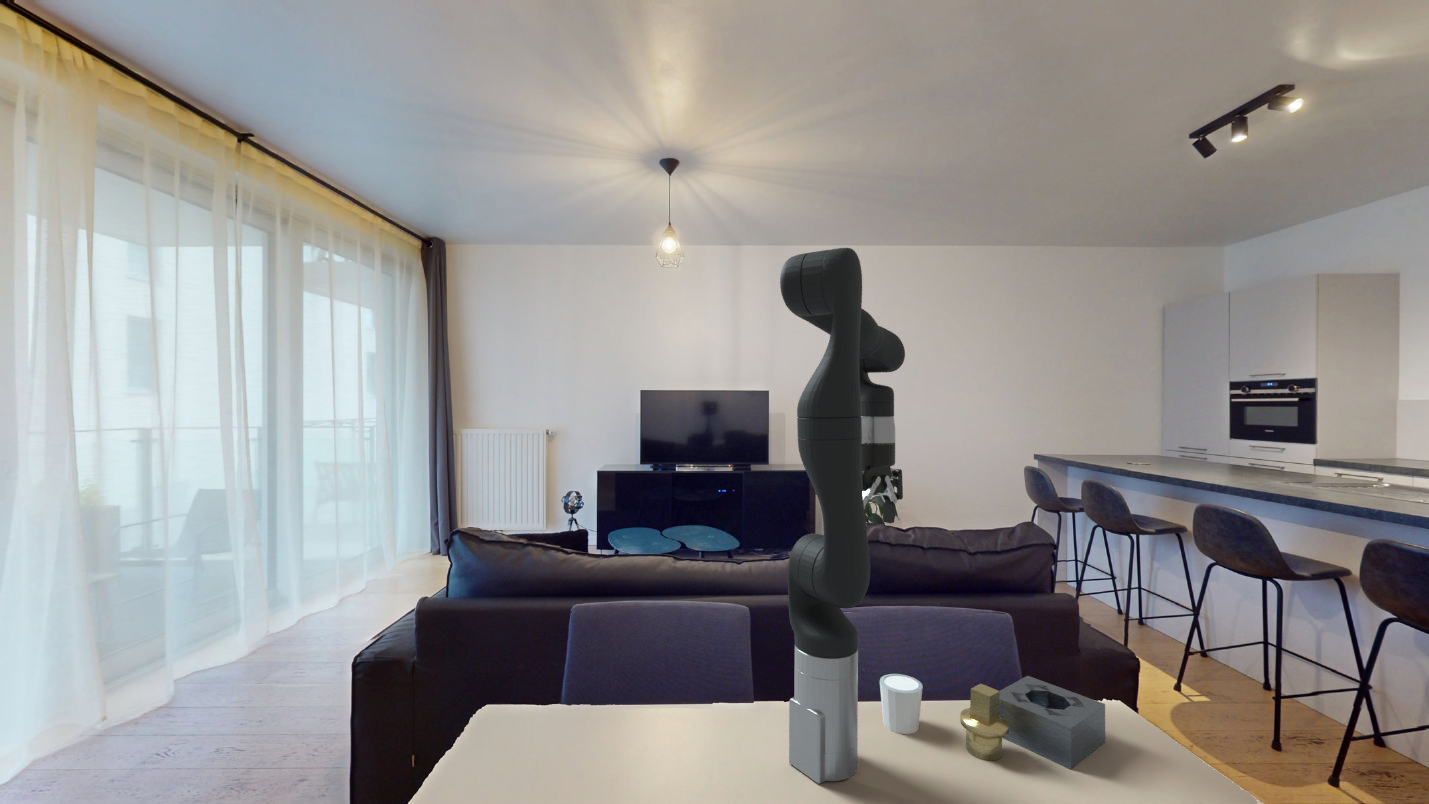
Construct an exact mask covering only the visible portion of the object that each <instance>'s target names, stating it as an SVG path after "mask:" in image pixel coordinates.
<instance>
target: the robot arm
mask: <svg viewBox="0 0 1429 804" xmlns="http://www.w3.org/2000/svg"><path fill="white" fill-rule="evenodd" d="M780 272H781V273H780V279H779V280H780V281H779V284H780V285H779V286H780V287H779V288H780V293H781V294H780V295H781V297H782V299H783V302H784V304H785V306H786V307H787V308H788V310H789V311H790V312H791V313H792V314H794V316H796V317H798V318H800V319H802V320H805V321H806V322H808V323H809V324H811V325H812V326H814V327H816V328H818V329H819V330H821V331H823V332H825V333H826V334H828V335H829V341H828V344H827V347H826V348H825V351H824V354H823V356H822V358H821V359H820V361H819V363H818V365H817V366H816V369H815V370H814V372H813V374H812V375H811V377H810V378H809V380H808V382H807V383H806V384H805V385H806V386H805V387H804V389H803V390H802V393H801V395H800V397H799V400H798V402H797V408H796V417H797V418H796V420H797V423H796V425H797V428H796V429H797V446H798V452H799V456H800V459H801V462H802V465H803V466H804V467H803V468H804V469H805V472H806V474H807V477H808V478H809V480H810V483H811V485H812V487H813V489H814V492H815V494H816V497H817V498H818V502H819V505H820V509H821V515H822V521H823V522H822V523H823V534H820V533H807V534H805V535H803V536H801V537H800V538H799V539H798V540H797V541H796V542H795V544H794V546H792V549H791V551H790V554H789V558H788V565H787V593H788V594H787V595H788V596H787V597H788V614H789V616H788V617H789V618H788V619H789V623H790V626H791V629H792V631H793V634H794V689H793V690H794V692H793V693H794V696H793V697H791V698H790V699H789V701H788V702H789V704H788V705H789V706H788V707H789V708H788V709H789V711H788V712H789V714H788V717H789V718H788V719H789V720H788V721H789V723H788V727H789V728H788V729H789V730H788V734H789V735H788V764H790V765H791V766H793V767H794V768H796V769H797V770H799V772H801V773H803V774H804V775H806V776H807V777H808V778H810V779H811V780H813V781H814V782H816V783H817V784H822V783H824V782H839V781H843V780H844V781H845V780H847V779H848V778H851V777H852V776H853V775H854V774H855V773H856V772H857V770H858V739H859V738H858V726H859V725H858V723H859V722H858V716H859V715H858V711H859V710H858V705H859V704H858V699H859V698H858V697H859V696H858V695H859V692H858V689H859V687H858V686H859V684H858V683H859V675H858V674H859V671H858V670H859V666H858V665H859V634H858V631H857V628H856V626H855V625H854V623H852V621H851V620H850V619H849V618H848V617H847V616H846V614H845V613H844V611H843V610H842V609H844V610H845V609H852V608H855V607H857V606H858V605H859V604H860V603H862V600H863V599H864V598H865V595H866V594H867V591H868V589H869V585H870V579H871V557H870V547H869V540H868V539H869V538H868V532H867V523H866V520H867V519H866V513H867V510H866V505H867V503H868V501H869V500H871V499H872V498H873V496H874V495H877V494H878V495H880V497H881V500H882V501H883V503H882V521H883V522H884V523H887V524H894V523H895V518H896V504H897V503H898V501H899V500H901V501H902V500H903V498H904V493H903V491H904V490H903V489H904V488H903V485H904V484H903V471H902V470H903V469H900V468H892V467H893V466H895V464H896V424H895V393H894V392H895V391H894V389H893V388H892V387H890V386H888V385H886V384H878V383H875V382H873V381H872V380H871V378H870V376H869V373H871V374H872V373H875V374H876V373H893V372H896V371H897V370H899V369H900V368H901V367H902V365H903V364H904V362H905V359H906V350H905V349H906V348H905V346H904V344H903V342H902V340H901V338H900V337H899V336H898V335H897V334H896V333H894V332H892V331H890V330H888V329H887V328H885V327H882V326H880V325H878V323H877V321H876V319H874V318H873V316H872V315H871V314H870V313H869V312H868V311H866V310H865V309H863V307H862V303H863V301H862V300H863V274H862V267H861V261H860V258H859V255H858V253H857V252H856V251H855V250H854V249H853V248H850V247H839V248H838V247H837V248H832V249H825V250H824V249H823V250H818V251H811V252H805V253H800V254H797V255H794V256H791V257H789V258H788V259H787V260H785V262H784V263H783V266H782V267H781V271H780ZM895 488H896V490H895ZM895 491H896V492H895Z"/></svg>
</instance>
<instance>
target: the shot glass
mask: <svg viewBox="0 0 1429 804" xmlns="http://www.w3.org/2000/svg"><path fill="white" fill-rule="evenodd" d="M879 688H880V690H879V691H880V701H881V702H880V703H881V711H882V714H881V715H882V723H883V725H884V727H885V728H886V729H888V730H889V731H891V732H894V733H896V734H901V735H912V734H915V733H917V732H918V731H919V726H920V718H921V717H920V716H921V705H922V697H923V696H922V695H923V683H922V682H921V681H920V680H919V679H917V678H915V677H913V676H909V675H907V674H902V673H901V674H900V673H889V674H885V675H882V676H881V677H880V679H879Z"/></svg>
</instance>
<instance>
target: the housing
mask: <svg viewBox="0 0 1429 804" xmlns="http://www.w3.org/2000/svg"><path fill="white" fill-rule="evenodd" d="M999 691H1000V702H999V715H1001V716H1002V717H1004V718H1005V719H1006V720H1007V721H1008V723H1009V734H1008V735H1007V736H1006V737H1003V738H1002V739H1005V740H1007V741H1009V742H1011V743H1014V744H1016V745H1018V746H1020V747H1022V748H1024V749H1026V750H1028V751H1031V752H1033V753H1035V754H1036V755H1039V756H1040V757H1043V758H1046V759H1047V760H1050V761H1052V762H1054V763H1056V764H1058V765H1060V766H1062V767H1064V768H1067V769H1069V770H1072V769H1073V768H1075V767H1076V766H1077V765H1079V764H1080V763H1081V762H1082V761H1084V760H1085V759H1086V758H1087V757H1088V756H1090V755H1091V754H1092V753H1093V752H1094V751H1096V750H1097V749H1098V748H1100V747H1101V746H1103V744H1105V743H1106V703H1103V702H1102V701H1098V700H1095V699H1093V698H1090V697H1088V696H1085V695H1082V694H1079V693H1077V692H1073V691H1071V690H1069V689H1065V688H1063V687H1061V686H1057V685H1055V684H1051V683H1049V682H1047V681H1044V680H1041V679H1038V678H1035V677H1033V676H1030V675H1026V676H1024V677H1023V678H1019V680H1017V681H1015V682H1013V683H1012V684H1009V685H1008V686H1006V687H1003V688H1002V689H1000V690H999Z"/></svg>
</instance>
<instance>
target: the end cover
mask: <svg viewBox="0 0 1429 804" xmlns="http://www.w3.org/2000/svg"><path fill="white" fill-rule="evenodd" d="M999 702H1000V690H998V689H995V688H993V687H991V686H989V685H986V684H983V683H979V684H977V685H975V686H974V687H971V688H970V700H969V703H970V704H969V708H965V709H963V710H961V712H960V713H959V714H960V720H959V721H960V724H961V726H962V727H963V728H965V729H966V731H965V733H966V734H965V749H966V751H967V752H969V754H971V755H972V756H974V757H976V758H978V759H981V760H985V761H991V762H992V761H998V760H1000V759H1001V758H1002V755H1003V739H1004V738H1003V737H1006V736H1007V735H1008V734H1009V723H1008V721H1007V720H1006V719H1005V718H1004V717H1002V716H1001V715H999Z"/></svg>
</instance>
